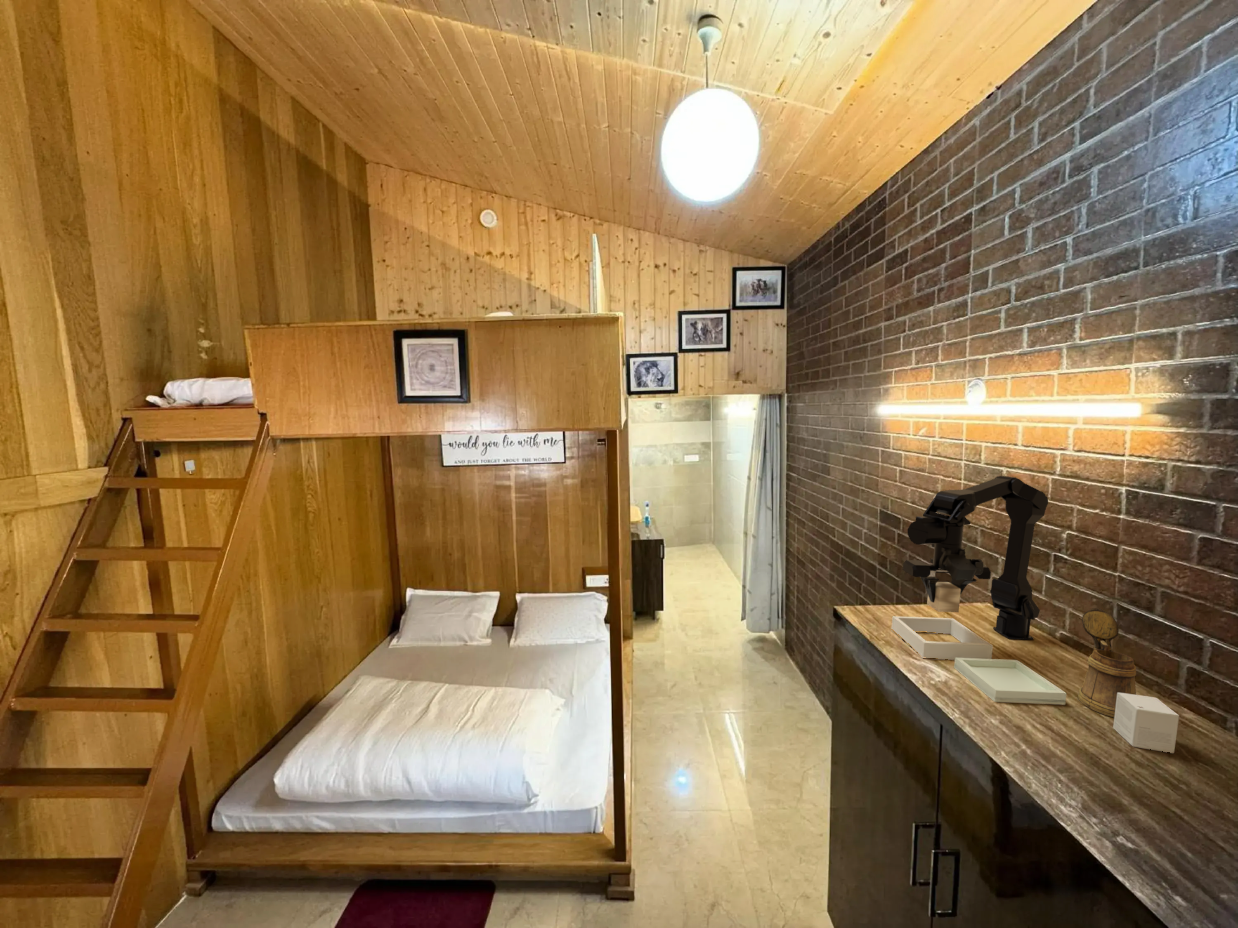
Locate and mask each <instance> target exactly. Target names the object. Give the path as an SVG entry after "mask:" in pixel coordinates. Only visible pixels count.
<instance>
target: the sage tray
mask: <svg viewBox="0 0 1238 928" xmlns="http://www.w3.org/2000/svg"><path fill="white" fill-rule="evenodd" d="M953 668H954V669H955V670H956V671H958V673H960V674H961V675H962V676H963V677H964V678H966V679H967V680H968V681H969V682H971V684H973V685H974V686H975V687H976V688H978V689H979V690H980V691H981V692H982V693H983V694H985V695H986V696H987V697H988V698H990V700H992V701H993V702H994V703H1018V704H1035V705H1038V704H1039V705H1040V704H1041V705H1063V706H1065V705H1066V702H1067V693H1066V692H1065V691H1064V690H1062V689H1061V688H1060V687H1058V686H1057V685H1056V684H1053V683H1052V682H1051V681H1049V680H1048V679H1046V678H1045V677H1043V676H1042V675H1040V674H1039V673H1037V672H1036V671H1034V670H1033V669H1032V668H1030V667H1028V666H1027V665H1025V664H1024V663H1022V661H1019V660H1018V659H1006V658H1004V659H1002V658H1001V659H999V658H992V659H978V658H955V660H954V665H953Z"/></svg>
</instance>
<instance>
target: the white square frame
mask: <svg viewBox="0 0 1238 928" xmlns="http://www.w3.org/2000/svg"><path fill="white" fill-rule="evenodd" d="M891 618H892V619H891V629H893V630H894V631H895V632H896V633H897V634H899V635H900V636H901V637H902V638H903V639H904V640H905V641H906V642H907V643H909V644H910V645H911V646H912V647H913V648H914V649H915V650H916V651H917V652H918V653H919V654H920V655H921V656H922V657H926V658H938V659H937V660H945V659H948V660H949V661H951V660H952V661H955V658H978V659H993V649H994V647H993V646H994V645H993V644H991V643H990V642H989V641H987V640H985V639H984V638H983V637H981V636H980V635H978V634H977V633H976V632H973V630H971V629H969V628H968V627H966V626H965V625H964V624H962V623H961V622H959V621H958V620H956V619H955V618H953V617H951V618H949V617H924V616H922V617H921V616H899V615H898V616H896V615H893V616H892V617H891ZM913 630H914V631H913ZM915 631H927V632H936V633H935V634H938V633H943V634H942V635H944V634H945V635H950V636H952V637H954V638H955V639H957V640H958V641H935V640H934V641H933V640H932V641H931V640H926V639H924V638H923V637H922V636H921V635H920V634H918V633H916V632H915ZM921 656H920V657H921ZM922 657H921V658H922Z"/></svg>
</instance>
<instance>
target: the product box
mask: <svg viewBox="0 0 1238 928" xmlns="http://www.w3.org/2000/svg"><path fill="white" fill-rule="evenodd" d="M1179 721H1180V715H1179V714H1178V713H1176V712H1175V711H1174V710H1173V709H1171V708H1170V707H1169V706H1168V705H1167V704H1165V703H1163V701H1161V700H1160V699H1159V698H1157V697H1153V696H1147V695H1140V694H1136V695H1133V694H1126V693H1117V699H1116V708H1115V717H1113V726H1112V729H1114V730H1115V731H1116V732H1117V733H1118V734H1119V735H1120V736H1121V737H1122V738H1123V739H1124V740H1126V742H1127V743H1129V745H1130V746H1132V747H1133V748H1140V749H1145V750H1150V749H1151V751H1157V752H1162V751H1163V752H1162V753H1167V752H1170V754H1174V753H1175V750H1176V749H1175V747H1176V741H1177V740H1176V739H1177V734H1178V726H1179Z"/></svg>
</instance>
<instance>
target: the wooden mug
mask: <svg viewBox="0 0 1238 928" xmlns="http://www.w3.org/2000/svg"><path fill="white" fill-rule="evenodd" d="M1081 621H1082V627H1083V630H1084V631H1085V632H1086V633H1087V634H1088V636H1090V637H1092V639H1093V644H1094V645H1093V650H1092V653H1091V654H1090V655H1089V657H1088V658H1087V661H1086V663H1087V664H1088V667H1087V671H1086V673H1085V677H1084V681H1083V683H1082V686H1081V687H1080V688H1079V690H1078V696H1077V699H1078V700H1079V701H1080V702H1081V704H1082V705H1084V706H1085V707H1087V708H1089V709H1091V710H1092V711H1095V712H1097V713H1099V714H1101V715H1105V716H1107V717H1110V718H1114V717H1115V708H1116V699H1117V693H1126V694H1133V695H1137V690H1136V688H1137V687H1136V677H1135V676H1136V675H1137V669H1136V668H1137V666H1136V665H1135V661H1134V658H1133V657H1131V656H1130V655H1127V654H1124V653H1121V652H1117V651H1114V650H1113V647H1112V643H1111V641H1112V640H1114V639H1115V638H1116V637H1118V636H1119V624H1118V622H1117V620H1116V619H1115V617H1113V616H1112V615H1111V614H1110V613H1108V612H1107V611H1106V610H1104V609H1102V608H1100V607H1097V606H1096V607H1094V608H1091V609H1089V610H1087V611H1086V612H1084V613H1083V614H1082V619H1081Z"/></svg>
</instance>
